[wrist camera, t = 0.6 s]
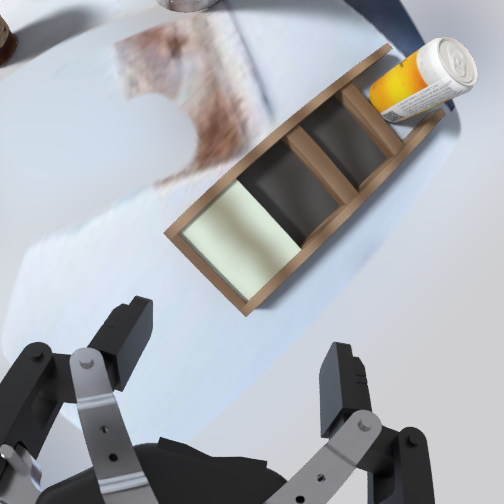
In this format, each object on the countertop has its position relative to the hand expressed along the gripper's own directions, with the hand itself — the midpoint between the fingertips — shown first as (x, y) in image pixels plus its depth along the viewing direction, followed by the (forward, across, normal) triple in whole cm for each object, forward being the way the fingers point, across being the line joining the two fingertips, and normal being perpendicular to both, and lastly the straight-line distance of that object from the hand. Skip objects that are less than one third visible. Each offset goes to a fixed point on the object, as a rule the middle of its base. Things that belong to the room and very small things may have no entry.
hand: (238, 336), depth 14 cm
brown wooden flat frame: (+27, -5, -3) cm, 27 cm away
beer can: (+32, -12, -12) cm, 37 cm away
